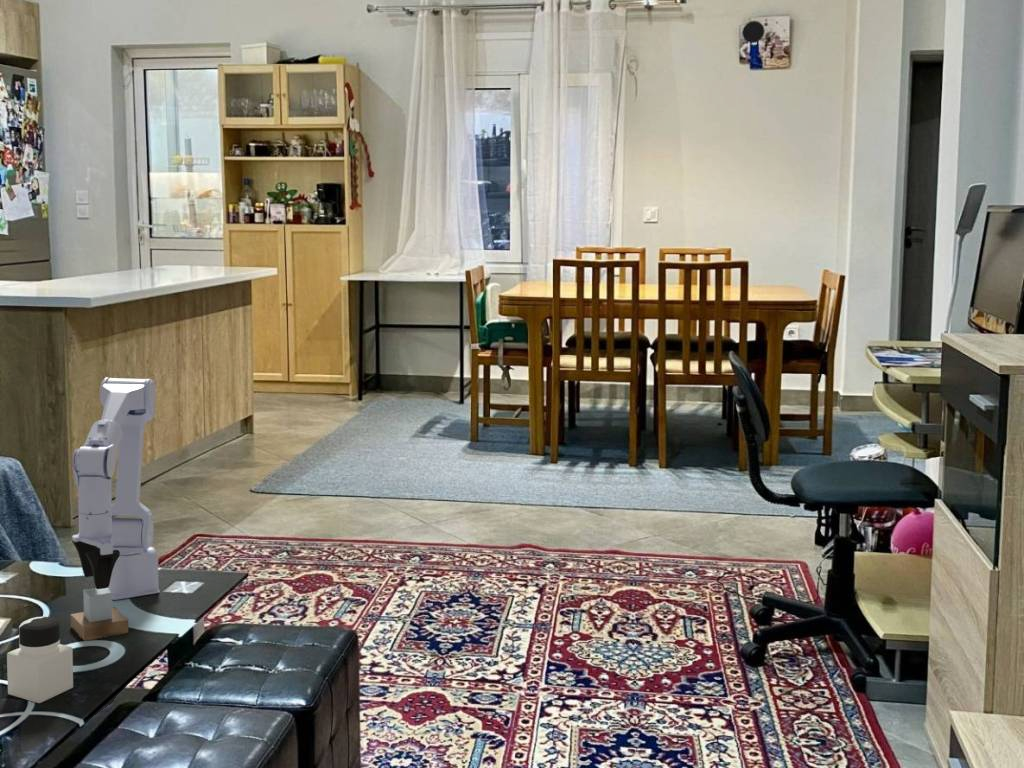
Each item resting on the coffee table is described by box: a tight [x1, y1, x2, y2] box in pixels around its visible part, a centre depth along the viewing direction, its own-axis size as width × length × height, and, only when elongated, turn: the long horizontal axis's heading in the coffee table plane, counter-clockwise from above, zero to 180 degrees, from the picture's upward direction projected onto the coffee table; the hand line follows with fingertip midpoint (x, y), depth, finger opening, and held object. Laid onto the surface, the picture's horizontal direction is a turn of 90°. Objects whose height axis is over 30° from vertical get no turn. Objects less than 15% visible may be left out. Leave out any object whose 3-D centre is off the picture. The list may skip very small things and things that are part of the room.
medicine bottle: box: [6, 616, 74, 704], centre depth 180 cm, size 7×7×12 cm
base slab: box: [70, 606, 129, 642], centre depth 207 cm, size 8×8×3 cm
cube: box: [83, 587, 113, 622], centre depth 206 cm, size 4×4×5 cm
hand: (96, 581), depth 206 cm, fingers open, 7 cm apart
